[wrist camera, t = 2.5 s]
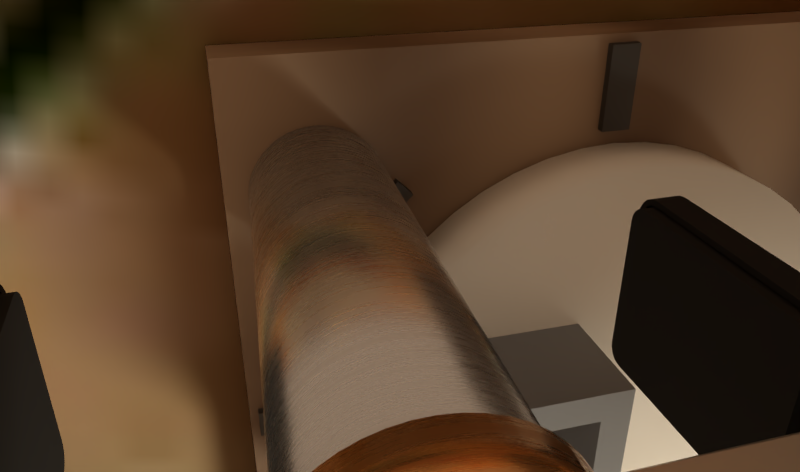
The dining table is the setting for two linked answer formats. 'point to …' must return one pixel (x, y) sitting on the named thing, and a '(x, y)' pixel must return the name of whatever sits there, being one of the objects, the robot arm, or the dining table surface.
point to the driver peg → (372, 329)
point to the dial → (589, 281)
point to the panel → (504, 111)
